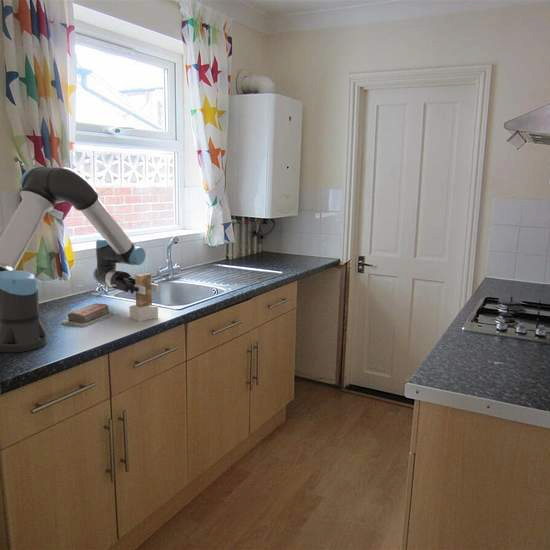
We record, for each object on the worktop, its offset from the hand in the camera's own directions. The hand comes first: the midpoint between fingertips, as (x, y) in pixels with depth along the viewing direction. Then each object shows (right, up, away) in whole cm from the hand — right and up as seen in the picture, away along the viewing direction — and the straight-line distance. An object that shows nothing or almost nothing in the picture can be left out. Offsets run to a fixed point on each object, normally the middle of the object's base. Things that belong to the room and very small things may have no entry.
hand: (151, 289), depth 195 cm
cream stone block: (-4, -11, +6) cm, 13 cm away
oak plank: (-4, -6, +5) cm, 9 cm away
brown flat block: (-24, -12, +2) cm, 27 cm away
